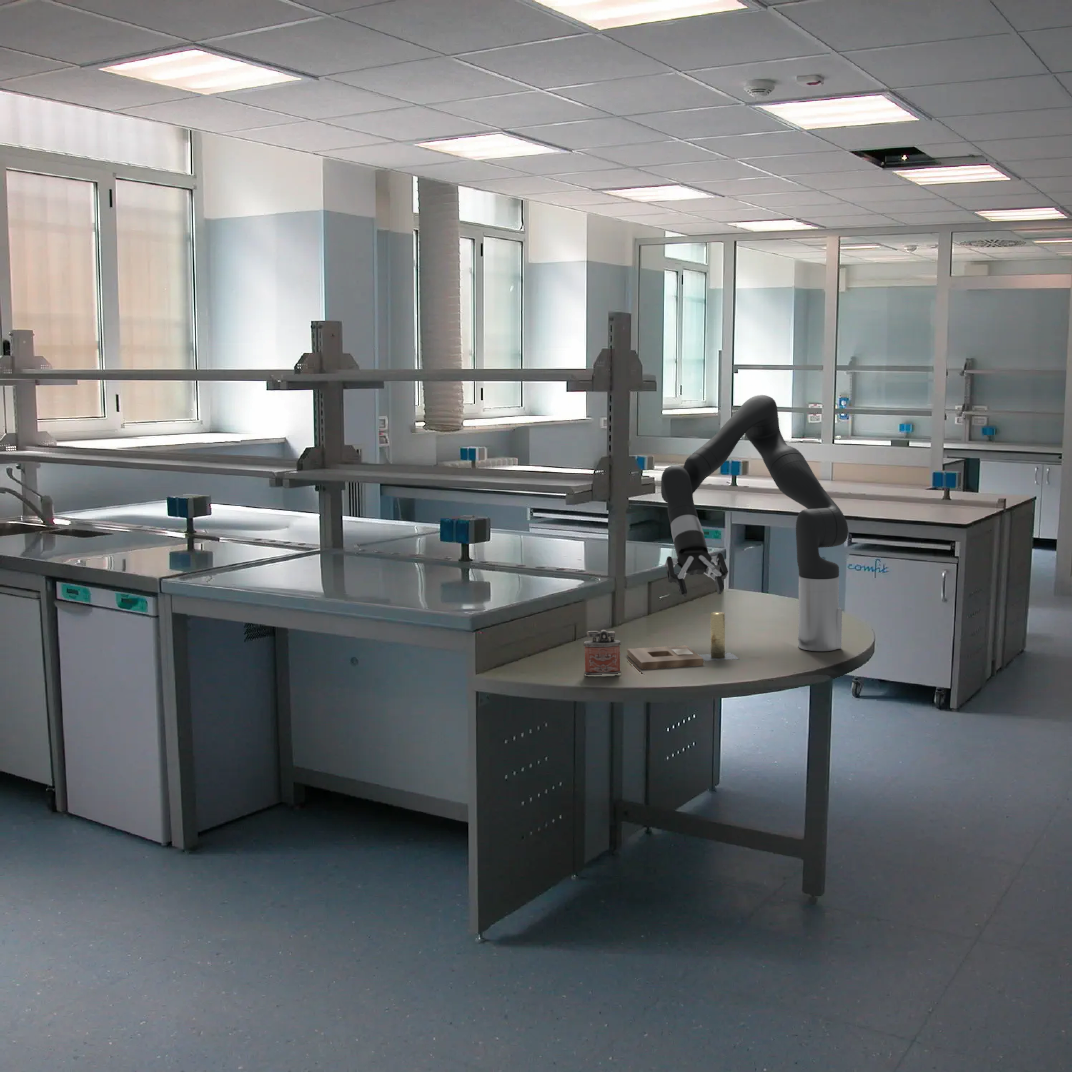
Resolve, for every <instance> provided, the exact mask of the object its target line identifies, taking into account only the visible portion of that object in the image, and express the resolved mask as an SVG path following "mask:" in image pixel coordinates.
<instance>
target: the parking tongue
mask: <svg viewBox="0 0 1072 1072" xmlns="http://www.w3.org/2000/svg"><path fill="white" fill-rule="evenodd" d="M698 655H699V656H701V657H702V658H703V662H713V661H726V660H727V661H728V660H729V661H730V660H740V657H739V658H738V657H737V655H735V654H734V653H732V652H725V657H724V658H712V657H711V653H705V654H704V653H703V654H701V653H700V654H698Z"/></svg>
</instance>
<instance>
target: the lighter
mask: <svg viewBox="0 0 1072 1072" xmlns="http://www.w3.org/2000/svg"><path fill="white" fill-rule="evenodd" d="M615 637H616V632H615V631H614V630H612V631H607V630H606V629H601V630H600V631H598V630H589V631H586V638H591V639H592V640H585V641H584V642H583V646H584V674H586V675H602V674H618V673H621V674H622V669H621V657H620V656H621V650H620V649H621V640H619V639H615ZM584 674H583V675H584Z"/></svg>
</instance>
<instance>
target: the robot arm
mask: <svg viewBox="0 0 1072 1072" xmlns="http://www.w3.org/2000/svg"><path fill="white" fill-rule="evenodd" d="M744 435H745V436H746V438H747V439H748V441H749V442H750V444H751V445H752V446H753V447H754V448H755V449H756V451H757V452H758V453H759V455H760V457H761V458H762V460H763V464H764V465H765V467H766V468H767V470H768V472H769V475H770V476H771V479H772V480H773V482H774V483H775V485H776V487H777V488H778V490H779V491H780V492H781V493H782V494H784V495H785V496H787V497H788V498H789V499H791V500H793V501H794V502H796V503H798V504H800V505H801V506H803V507H805V508H806V509H802V510H801V511H800V512H798V515H797V517H796V522H795V540H796V561H797V566H798V567H797V568H798V626H797V627H798V628H797V629H798V632H797V633H798V634H797V640H798V641H797V642H798V643H797V644H798V647H799V649H802V650H805V651H810V652H811V651H812V652H829V651H830V652H831V651H835V650H839V649H843V648H842V647H843V646H842V645H843V642H842V638H843V637H842V632H843V631H842V630H843V629H842V627H843V623H842V622H843V609H842V608H841V607H839V601H840V600H839V598H840V597H839V595H840V589H839V587H840V567H839V565H838V564H837V563H835V562H833V561H829V560H826V559H825V558H822V557H821V555H820V550H819V548H832V547H839V546H841V545H843V544H844V543H845V542H846V541H847V539H848V536H849V527H848V522H847V520H846V517H845V515H844V513H843V511H842V510H841V508H840V507H839V505H837V503H836V502H835V501H834V500H833V498H831V496H830V495H829V494H828V493H827V492H826V490H825V488H824V487H823V486H822V484H821V483H820V481H819V480H818V478H817V477H816V476H815V473H814V472H813V470H812V467H811V466H810V465H809V463H808V462H807V460H806V458H805V457H804V455H803V454H802V453H801V452H800V451H799V450H798V449H797V448H795V447H793V446H790V445H789V444H787V443H786V441H785V439H784V437H783V434H782V433H781V430H780V423H779V412H778V406H777V403H776V400H775V399H774V398H773V397H771V396H769V395H767V394H765V395H764V394H758V395H754V396H752V397H750V398H749V399H746V400H745V402H744V403H742V405H741V406H739V408H738V409H737V410H736V411H735V412H734V413H733V414H732V416H731V417H730V418H729V419H728V420H727V421H726V423H724V424H723V426H722V427H721V428H720V429H719V430H718V431H717V433H715V434H714V435H713V437H711V438H710V439H709V440H708V441H706V442H705V443H704V444H703V445H702V446H700V447H699V448H697V450H696V451H694V452H693V453H692V454H690V455H689V456H688V457H687V458H686V460H685V462H684V464H683V467H682V466H681V465H678V464H677V465H675V464H673V465H670V466H668V467H666V468H665V469H664V471H663V472H662V474H661V476H660V477H661V478H660V479H661V480H660V494H661V498H662V500H663V501H664V502H666V503H667V515H668V519H669V520H668V521H669V524H670V531H671V536H672V542H673V546H674V549H675V550H674V551H675V553H676V557H675V558H673V557H672V556H667V557H666V560H665V563H664V564H665V570H666V574H667V575H666V576H667V582H668V583H669V584H670V583H675V584H676V585H677V589H678V593H679V595H680V596H681V595H682V598H685V597H687V595H688V591H687V590H688V589H687V585H686V582H685V578H686V576H687V574H688V575H690V576H694V575H703V574H704V575H706V576H707V577H708V578H711V579H712V580H713V581H714V586H715V590H716V593H717V595H722V593H723V592H724V589H725V585H724V582H723V580H726V578H727V576H728V574H729V570H728V567H727V564H726V562H725V561H726V560H725V559H724V555H723V554H722V553H720V552H719V553H717V555H712V556H711V554H710V553H709V551H708V546H707V542H706V538H705V532H704V529H703V527H702V524H701V522H700V519H699V517H698V516H699V515H698V512H697V509H696V505H695V502H694V495H693V494H694V493H695V492H696V491H697V490H698V488H699V487H700V486H701V484H702V483H703V482H704V481H705V480H706V479H707V478H709V476H711V475H712V474H713V473H715V472H716V471H717V470H718V469H719V468H721V467H722V466H723V465H724V463H725V462H726V461H727V459H729V457H730V456H731V454H732V453H733V452H734V449H735V448H736V445H737V444H738V443H739V441H740V440H741V439H742V438H743V436H744ZM711 562H712V563H714V564H712V563H711ZM676 565H677V566H678V567H679V568H681V570H680V572H679V573H678V574H676V573H675V566H676ZM715 566H717V567H715ZM716 568H717V569H716Z"/></svg>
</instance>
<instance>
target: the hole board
mask: <svg viewBox="0 0 1072 1072" xmlns="http://www.w3.org/2000/svg"><path fill="white" fill-rule="evenodd" d="M626 651H627V653H626V654H627V657H628V658H627V660H628V661H629V662H630V663H631V664H633V666H634V667H635V668H636V669H637V670H638V671H639V672H641V674H644V673H643V672H642V671H641V670H650V669H651V670H652V669H666V668H668V669H669V668H685V667H699V666H704V660H703V658H702V657H701V656H699V655H700V654H698V653H697V652H695V651H694V650H693V649H692V648H690V647H689V646H688V645H686V644H685V645H683V644H682V645H669V646H655V647H654V646H652V647H638V648H637V647H636V648H627V649H626ZM628 661H627V662H628ZM637 666H638V667H637Z"/></svg>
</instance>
